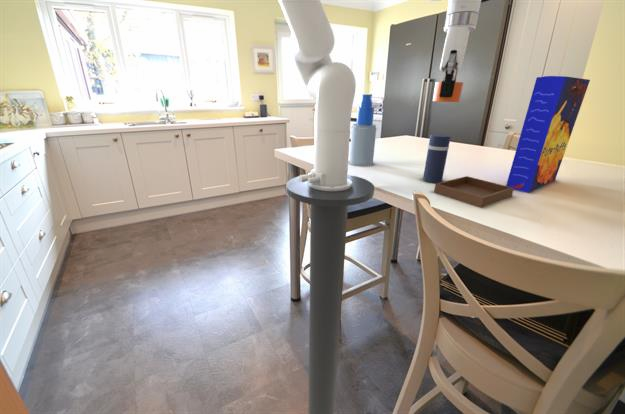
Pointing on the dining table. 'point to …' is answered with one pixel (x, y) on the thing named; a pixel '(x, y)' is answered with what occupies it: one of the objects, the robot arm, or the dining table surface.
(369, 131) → the grey and blue bottle
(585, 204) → the dining table surface
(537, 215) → the dining table surface
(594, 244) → the dining table surface
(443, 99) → the cap
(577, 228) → the dining table surface
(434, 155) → the spray can
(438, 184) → the tray
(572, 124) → the cereal box
